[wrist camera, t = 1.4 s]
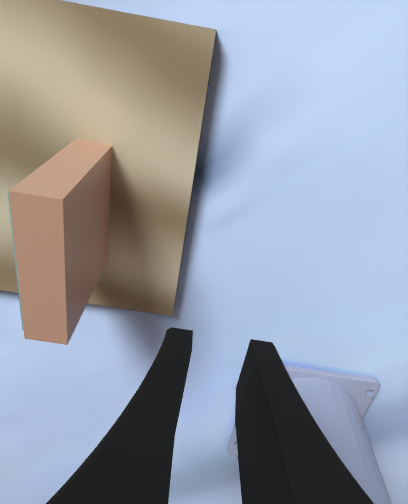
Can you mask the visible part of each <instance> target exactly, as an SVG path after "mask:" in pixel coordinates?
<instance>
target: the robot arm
mask: <svg viewBox="0 0 408 504" xmlns="http://www.w3.org/2000/svg"><path fill="white" fill-rule="evenodd" d="M192 336H193V331H191V330H185V329H178V328H170V329H168V330H167V331H166V335H165V338H164V341H163V343H162V346H161V348H160V350H159V352H158V354H157V356H156V358H155V360H154V362H153V364H152V366H151V368H150V370H149V371H148V373H147V375H146V376H145V378H144V380H143V382H142V383H141V385H140V387H139V388H138V390H137V391H136V393H135V394H134V396H133V397H132V399H131V400H130V402H129V403H128V405H127V406H126V408H125V409H124V411H123V412H122V414H121V415H120V417H119V418H118V419H117V421H116V422H115V423H114V425H113V426H112V427H111V429H110V430H109V431H108V433H107V434H106V435H105V437H104V438H103V439H102V440H101V442H100V443H99V444H98V446H97V447H96V448H95V449H94V450H93V452H92V453H91V454H90V455H89V456H88V458H87V459H86V460H85V461H84V462H83V463H82V465H81V466H80V467H79V468H78V469H77V471H76V472H75V473H74V474H73V475H72V476H71V477H70V479H69V480H68V481H67V482H66V483H65V484H64V485H63V486H62V487H61V488H60V489H59V491H58V492H57V493H56V494H55V495H54V496H53V497H52V498H51V499H50V500H49V501H48V502H47V503H46V504H168V498H169V488H170V477H171V467H172V457H173V447H174V437H175V431H176V426H177V422H178V417H179V412H180V407H181V402H182V397H183V392H184V387H185V382H186V377H187V372H188V367H189V362H190V357H191V352H192ZM379 388H380V384H379V382H378V380H377V379H376V378H372V377H366V376H359V375H352V374H345V373H338V372H331V371H324V370H318V369H311V368H304V367H297V366H290V365H284V364H283V362H282V360H281V358H280V356H279V354H278V352H277V350H276V348H275V346H274V345H273V343H272V342H265V341H259V340H252V339H251V340H250V343H249V347H248V350H247V353H246V357H245V360H244V363H243V367H242V370H241V373H240V377H239V380H238V383H237V387H236V409H235V426H234V430H233V433H232V436H231V439H230V442H229V445H228V452H229V453H230V454H231V455H235V456H238V461H239V472H240V483H241V494H242V504H392V503H391V500H390V497H389V494H388V492H387V489H386V486H385V483H384V480H383V478H382V475H381V472H380V469H379V466H378V464H377V461H376V458H375V455H374V452H373V450H372V447H371V444H370V441H369V438H368V436H367V433H366V430H365V427H364V424H363V421H362V419H361V418H362V417H363V415H364V413H365V412H366V410H367V408H368V406H369V405H370V403H371V401H372V400H373V398H374V396H375V395H376V393H377V391H378V389H379Z"/></svg>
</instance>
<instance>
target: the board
mask: <svg viewBox="0 0 408 504" xmlns="http://www.w3.org/2000/svg"><path fill="white" fill-rule="evenodd" d="M215 36H216V29H211V28H205V27H200V26H194V25H189V24H184V23H178V22H173V21H168V20H162V19H157V18H152V17H146V16H141V15H136V14H130V13H125V12H120V11H114V10H109V9H103V8H98V7H93V6H87V5H82V4H77V3H71V2H66V1H61V0H0V290H2V291H8V292H15V293H18V284H17V275H16V266H15V257H14V248H13V239H12V230H11V221H10V212H9V203H8V193H9V190H10V189H12V188H13V187H14V186H15V185H17V184H18V183H19V182H21V181H22V180H23V179H24V178H26V177H27V176H28V175H30V174H31V173H32V172H34V171H35V170H36V169H37V168H39V167H40V166H41V165H43V164H44V163H45V162H46V161H48V160H49V159H50V158H52V157H53V156H54V155H56V154H57V153H58V152H59V151H61V150H62V149H63V148H65V147H66V146H67V145H68V144H70V143H71V142H72V141H74V140H75V139H76V140H82V141H88V142H94V143H100V144H106V145H111V146H112V162H111V189H110V216H109V243H108V262H107V264H106V266H105V268H104V270H103V272H102V274H101V276H100V278H99V280H98V282H97V284H96V286H95V289H94V291H93V293H92V295H91V297H90V299H89V301H88V304H95V305H102V306H108V307H115V308H122V309H128V310H135V311H142V312H148V313H155V314H162V315H168V316H172V315H173V309H174V303H175V296H176V290H177V283H178V277H179V270H180V264H181V257H182V251H183V244H184V238H185V231H186V225H187V218H188V212H189V205H190V199H191V192H192V186H193V179H194V172H195V166H196V159H197V153H198V146H199V140H200V133H201V127H202V120H203V114H204V107H205V101H206V94H207V88H208V81H209V75H210V68H211V62H212V55H213V49H214V42H215Z"/></svg>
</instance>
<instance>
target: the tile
mask: <svg viewBox="0 0 408 504" xmlns="http://www.w3.org/2000/svg"><path fill="white" fill-rule="evenodd" d="M111 162H112V146H111V145H106V144H100V143H94V142H88V141H82V140H76V139H75V140H74V141H72V142H71V143H70V144H68V145H67V146H66V147H65V148H63V149H62V150H61V151H59V152H58V153H57V154H56V155H54V156H53V157H52V158H50V159H49V160H48V161H46V162H45V163H44V164H43V165H41V166H40V167H39V168H37V169H36V170H35V171H34V172H32V173H31V174H30V175H28V176H27V177H26V178H24V179H23V180H22V181H21V182H19V183H18V184H17V185H15V186H14V187H13V188H12V189H10V190H9V193H8V203H9V212H10V221H11V230H12V239H13V248H14V257H15V266H16V275H17V284H18V293H19V302H20V311H21V320H22V329H23V330H24V336H25V339H32V340H38V341H45V342H52V343H59V344H66V345H67V344H68V342H69V340H70V338H71V336H72V334H73V332H74V330H75V328H76V326H77V324H78V322H79V320H80V317H81V315H82V313H83V311H84V309H85V307H86V305H87V303H88V301H89V299H90V297H91V295H92V293H93V291H94V289H95V286H96V284H97V282H98V280H99V278H100V276H101V274H102V272H103V270H104V268H105V266H106V264H107V262H108V243H109V216H110V189H111Z"/></svg>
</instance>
